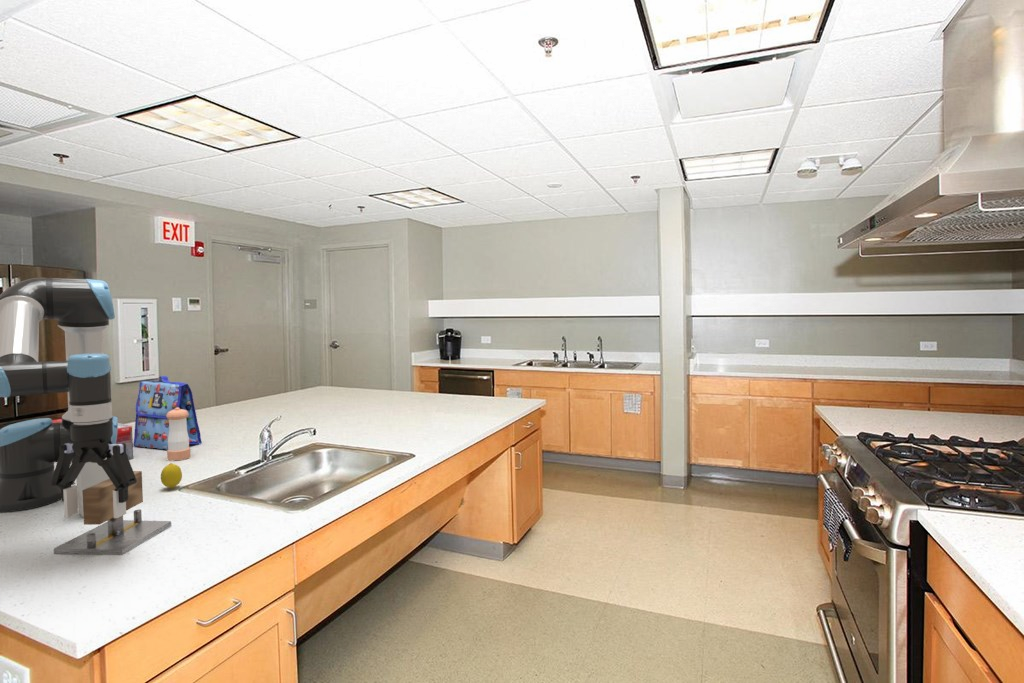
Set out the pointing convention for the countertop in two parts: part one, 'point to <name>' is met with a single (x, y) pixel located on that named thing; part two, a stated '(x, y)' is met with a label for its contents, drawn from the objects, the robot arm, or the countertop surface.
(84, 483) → the skincare box
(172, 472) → the lemon
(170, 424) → the pink and white bottle
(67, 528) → the countertop surface
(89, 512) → the wooden block
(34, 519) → the countertop surface
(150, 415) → the lunch bag
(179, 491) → the countertop surface
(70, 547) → the base plate
